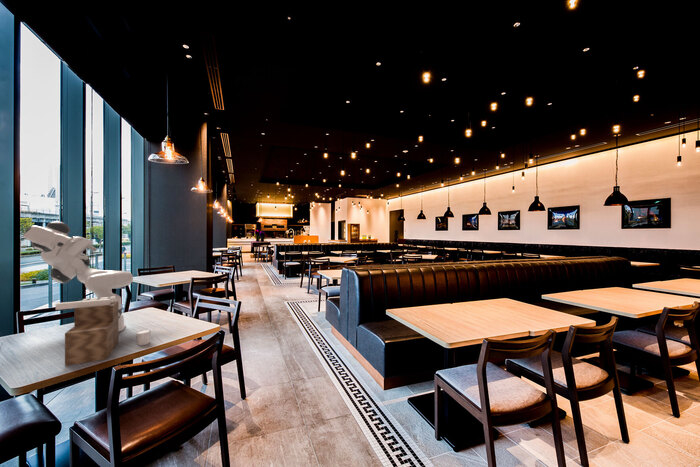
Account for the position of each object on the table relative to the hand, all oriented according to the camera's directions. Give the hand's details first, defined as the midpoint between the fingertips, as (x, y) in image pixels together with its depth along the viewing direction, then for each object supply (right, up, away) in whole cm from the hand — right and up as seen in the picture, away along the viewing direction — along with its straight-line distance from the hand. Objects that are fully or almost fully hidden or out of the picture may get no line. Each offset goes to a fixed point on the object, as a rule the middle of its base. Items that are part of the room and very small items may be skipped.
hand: (92, 254), depth 165 cm
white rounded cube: (+29, -53, +2) cm, 60 cm away
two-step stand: (+12, -53, -12) cm, 55 cm away
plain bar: (+6, -28, -11) cm, 30 cm away
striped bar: (+8, -28, -4) cm, 29 cm away
